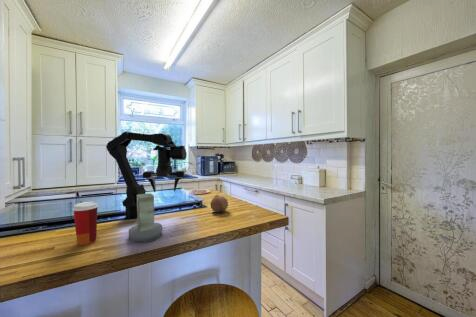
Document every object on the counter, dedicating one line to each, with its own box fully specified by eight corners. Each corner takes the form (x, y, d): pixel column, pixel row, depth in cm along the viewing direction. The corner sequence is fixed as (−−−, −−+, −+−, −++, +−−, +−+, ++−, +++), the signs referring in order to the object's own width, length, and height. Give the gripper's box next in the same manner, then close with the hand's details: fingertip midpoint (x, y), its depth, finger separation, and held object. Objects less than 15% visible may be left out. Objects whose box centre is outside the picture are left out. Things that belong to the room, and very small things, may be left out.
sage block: (137, 227, 82) (136, 194, 82) (150, 224, 85) (150, 193, 85) (140, 231, 78) (139, 197, 78) (154, 228, 81) (153, 195, 81)
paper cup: (95, 235, 82) (94, 200, 81) (102, 241, 77) (101, 203, 76) (70, 242, 76) (68, 204, 75) (76, 249, 71) (74, 208, 70)
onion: (213, 216, 114) (208, 198, 117) (230, 210, 116) (224, 193, 118) (213, 215, 105) (207, 196, 108) (230, 209, 107) (224, 190, 109)
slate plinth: (124, 243, 75) (123, 235, 75) (134, 230, 87) (134, 223, 87) (159, 241, 77) (158, 233, 77) (164, 228, 89) (164, 221, 89)
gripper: (138, 161, 91) (139, 196, 92) (182, 160, 94) (183, 194, 95) (145, 159, 102) (146, 191, 103) (184, 159, 105) (185, 189, 106)
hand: (164, 191), depth 102 cm, fingers open, 9 cm apart
